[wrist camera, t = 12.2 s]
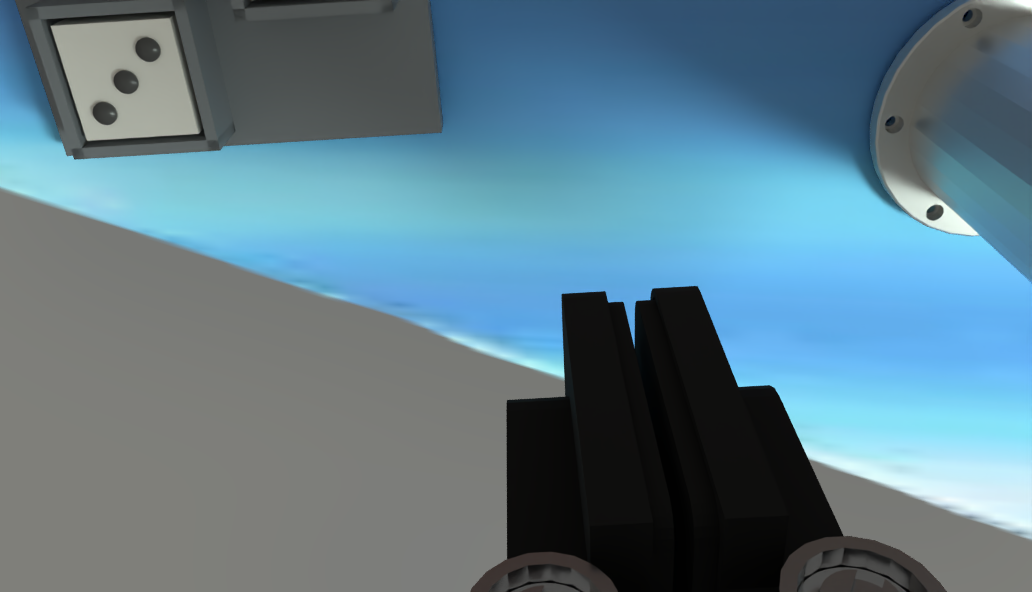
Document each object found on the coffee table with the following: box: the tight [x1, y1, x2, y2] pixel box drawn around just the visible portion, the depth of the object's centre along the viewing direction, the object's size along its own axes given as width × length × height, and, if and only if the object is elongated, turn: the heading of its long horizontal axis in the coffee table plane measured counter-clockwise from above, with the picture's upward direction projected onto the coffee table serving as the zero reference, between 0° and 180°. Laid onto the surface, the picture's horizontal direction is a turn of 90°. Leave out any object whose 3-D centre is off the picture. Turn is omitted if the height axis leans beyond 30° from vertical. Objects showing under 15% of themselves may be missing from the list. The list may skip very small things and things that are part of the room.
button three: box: [51, 11, 203, 141], centre depth 38 cm, size 5×5×2 cm
